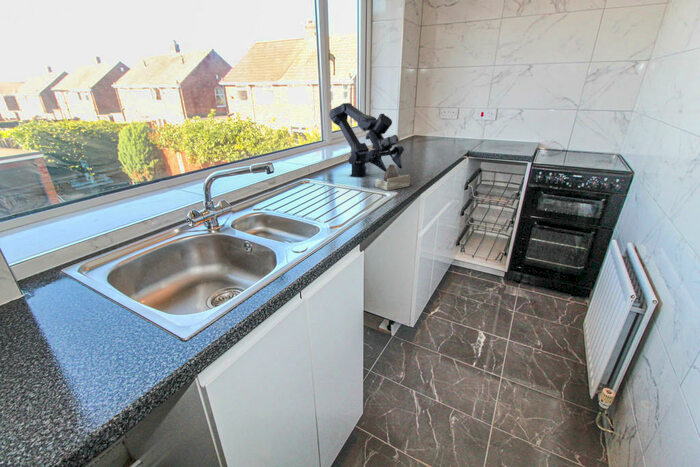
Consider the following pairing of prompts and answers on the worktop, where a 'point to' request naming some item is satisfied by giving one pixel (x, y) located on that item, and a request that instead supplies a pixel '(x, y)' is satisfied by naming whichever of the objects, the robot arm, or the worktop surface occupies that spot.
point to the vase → (390, 172)
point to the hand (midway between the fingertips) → (393, 169)
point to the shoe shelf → (393, 183)
